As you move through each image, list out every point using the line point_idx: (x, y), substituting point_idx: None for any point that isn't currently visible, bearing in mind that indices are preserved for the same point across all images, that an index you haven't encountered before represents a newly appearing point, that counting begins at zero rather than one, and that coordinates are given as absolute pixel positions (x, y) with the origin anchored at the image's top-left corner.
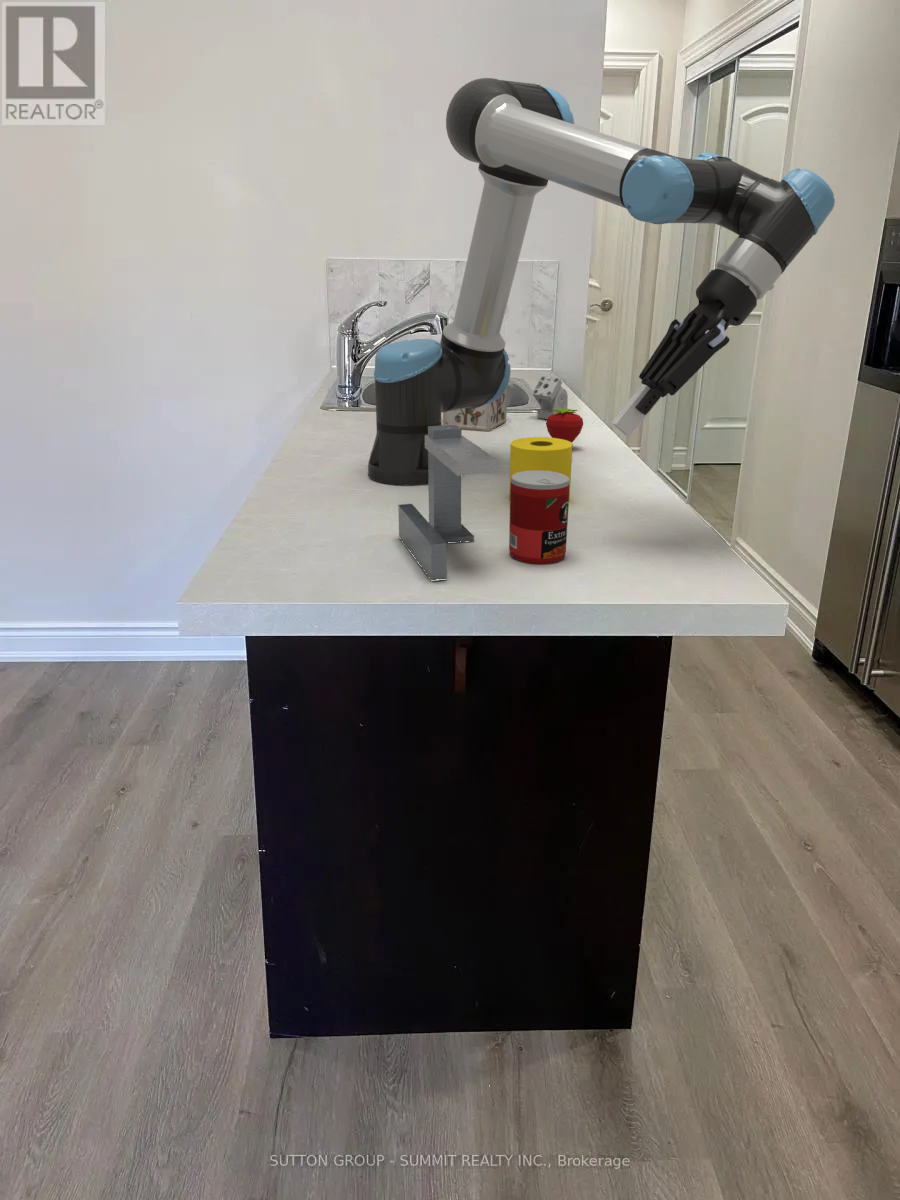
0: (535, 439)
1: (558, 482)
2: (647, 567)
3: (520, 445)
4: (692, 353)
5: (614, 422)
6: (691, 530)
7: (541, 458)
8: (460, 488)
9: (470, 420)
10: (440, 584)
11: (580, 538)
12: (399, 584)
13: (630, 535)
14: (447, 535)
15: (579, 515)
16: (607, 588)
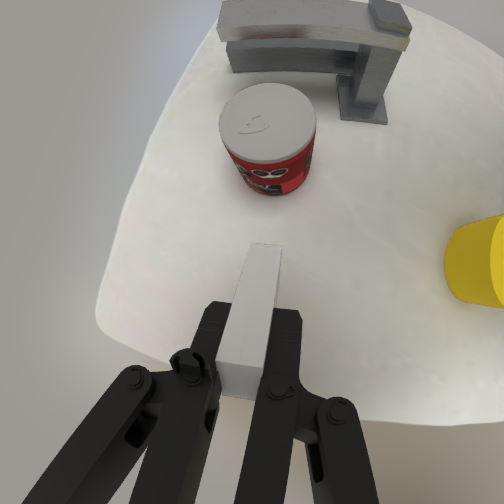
0: None
1: (240, 139)
2: (196, 269)
3: None
4: (45, 477)
5: (264, 246)
6: None
7: (484, 241)
8: (363, 75)
9: None
10: (226, 68)
11: (320, 242)
12: None
13: (310, 312)
14: (349, 95)
15: (408, 285)
16: (159, 199)
